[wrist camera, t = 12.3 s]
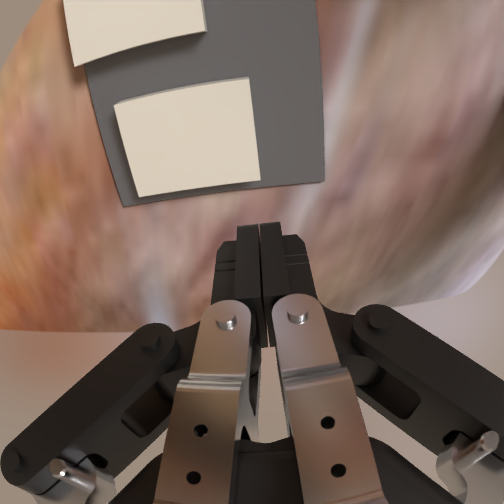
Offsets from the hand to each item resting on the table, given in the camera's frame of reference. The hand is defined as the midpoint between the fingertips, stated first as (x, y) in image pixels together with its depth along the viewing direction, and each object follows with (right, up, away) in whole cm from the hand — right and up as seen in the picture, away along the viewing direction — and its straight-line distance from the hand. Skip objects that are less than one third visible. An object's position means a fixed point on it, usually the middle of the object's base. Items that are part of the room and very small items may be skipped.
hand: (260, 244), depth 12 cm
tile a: (-4, +18, +4) cm, 19 cm away
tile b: (0, +9, +11) cm, 14 cm away
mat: (-4, +14, +9) cm, 17 cm away
